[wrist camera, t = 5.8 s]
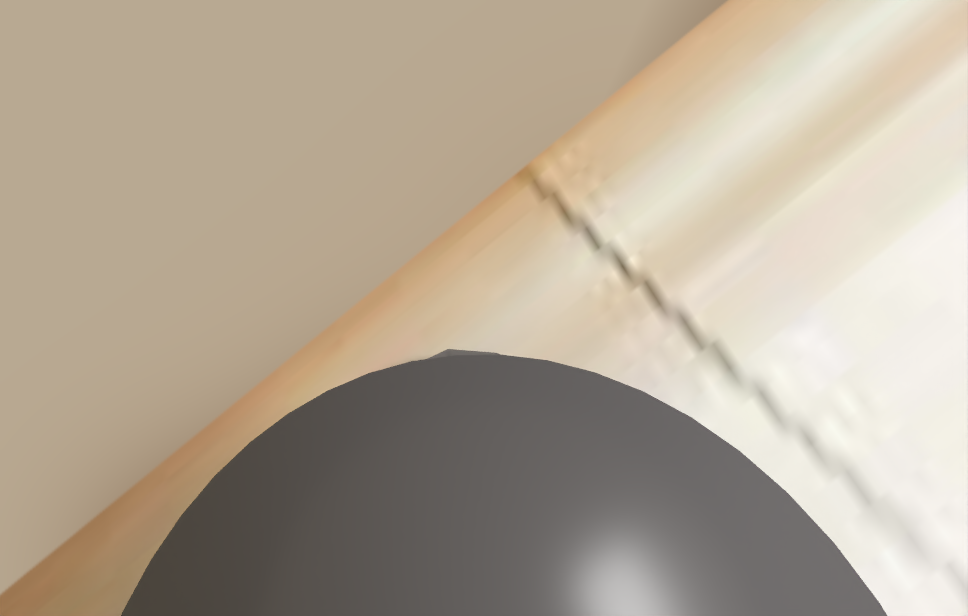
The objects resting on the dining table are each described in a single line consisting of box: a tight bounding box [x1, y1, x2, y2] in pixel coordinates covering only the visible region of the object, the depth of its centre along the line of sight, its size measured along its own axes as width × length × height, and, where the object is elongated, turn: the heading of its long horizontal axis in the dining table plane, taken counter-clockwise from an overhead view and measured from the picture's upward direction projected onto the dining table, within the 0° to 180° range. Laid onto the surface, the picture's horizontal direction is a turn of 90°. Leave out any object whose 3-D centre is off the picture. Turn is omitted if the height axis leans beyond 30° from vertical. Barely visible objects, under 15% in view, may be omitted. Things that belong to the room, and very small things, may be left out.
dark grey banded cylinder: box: [121, 355, 887, 616], centre depth 8 cm, size 5×5×13 cm
